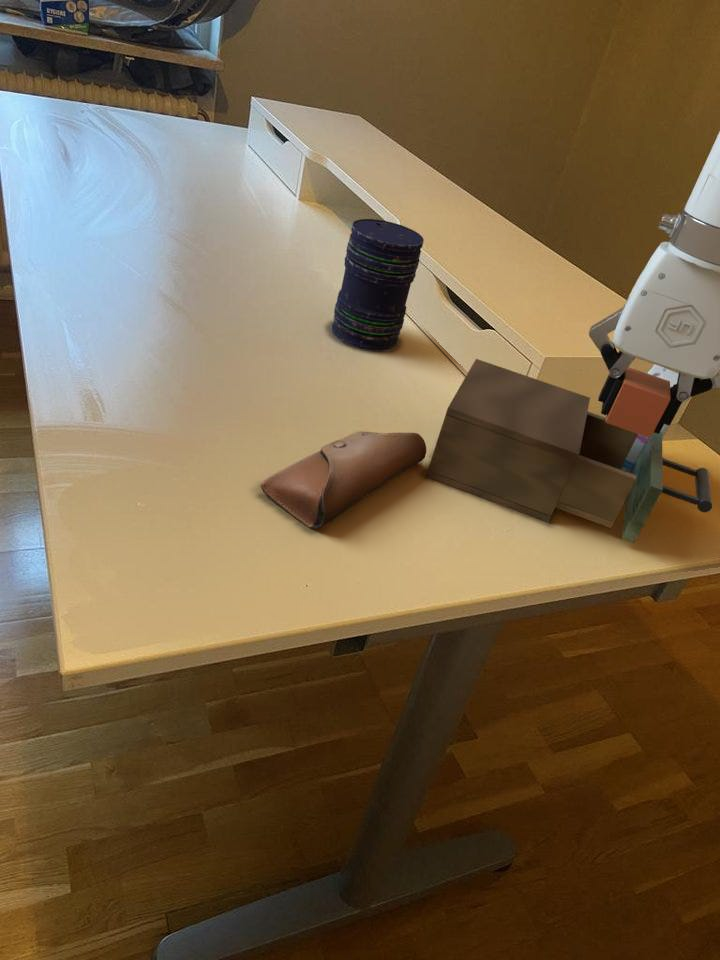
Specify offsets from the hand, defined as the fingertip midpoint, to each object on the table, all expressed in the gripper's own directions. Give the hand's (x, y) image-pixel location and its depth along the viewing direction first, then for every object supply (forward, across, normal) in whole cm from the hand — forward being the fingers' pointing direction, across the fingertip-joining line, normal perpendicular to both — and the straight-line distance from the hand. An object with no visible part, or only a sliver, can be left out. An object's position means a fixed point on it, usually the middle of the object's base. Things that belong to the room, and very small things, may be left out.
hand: (630, 416), depth 76 cm
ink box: (+11, +4, +11) cm, 16 cm away
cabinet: (+11, -11, 0) cm, 15 cm away
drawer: (+10, +1, 0) cm, 10 cm away
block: (+1, 0, 0) cm, 1 cm away
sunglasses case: (+11, -25, -13) cm, 30 cm away
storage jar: (+11, -35, +22) cm, 43 cm away
